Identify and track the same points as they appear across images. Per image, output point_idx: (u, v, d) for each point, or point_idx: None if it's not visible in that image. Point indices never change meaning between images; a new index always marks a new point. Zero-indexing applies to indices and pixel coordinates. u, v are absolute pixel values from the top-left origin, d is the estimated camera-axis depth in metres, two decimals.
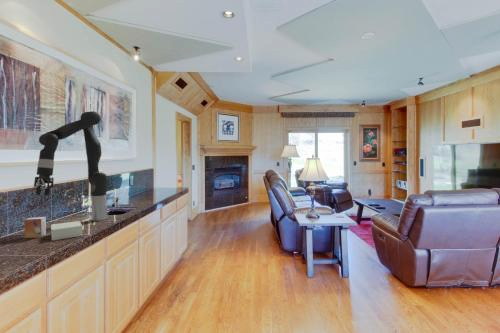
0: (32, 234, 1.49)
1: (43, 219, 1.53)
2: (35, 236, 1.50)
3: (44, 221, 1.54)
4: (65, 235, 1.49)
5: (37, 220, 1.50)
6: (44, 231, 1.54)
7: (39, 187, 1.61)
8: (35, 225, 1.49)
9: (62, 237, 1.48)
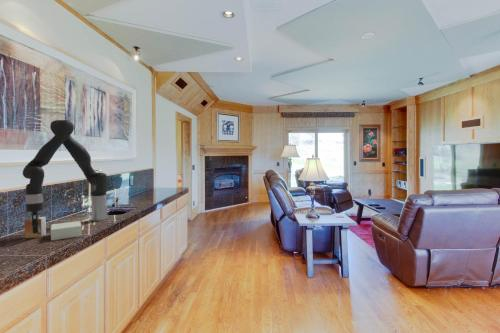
0: (32, 234, 1.49)
1: (43, 219, 1.53)
2: (35, 236, 1.50)
3: (44, 221, 1.54)
4: (64, 235, 1.49)
5: None
6: (44, 231, 1.54)
7: None
8: None
9: (61, 237, 1.48)
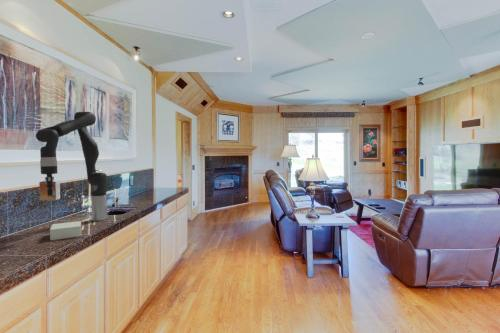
0: (46, 197, 1.50)
1: (57, 182, 1.54)
2: (50, 199, 1.51)
3: (58, 185, 1.55)
4: (64, 235, 1.49)
5: None
6: (58, 195, 1.54)
7: None
8: None
9: (60, 237, 1.48)
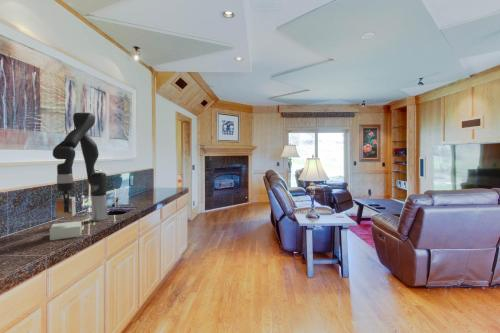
0: (63, 213, 1.52)
1: (73, 199, 1.55)
2: (66, 215, 1.52)
3: (74, 201, 1.56)
4: (63, 235, 1.48)
5: None
6: (74, 211, 1.56)
7: None
8: None
9: (60, 237, 1.48)
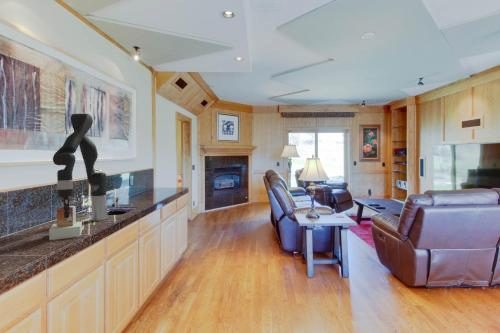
0: (63, 222, 1.52)
1: (74, 208, 1.56)
2: (67, 224, 1.53)
3: (74, 210, 1.57)
4: (63, 235, 1.48)
5: (69, 208, 1.53)
6: (74, 220, 1.57)
7: None
8: None
9: (60, 237, 1.48)
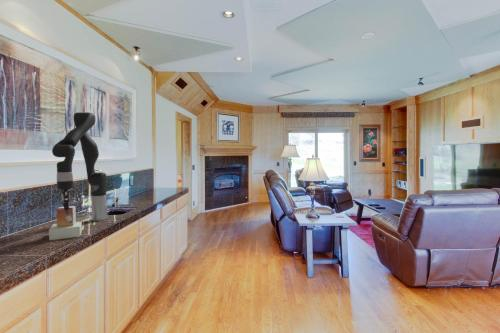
0: (63, 223, 1.52)
1: (74, 208, 1.55)
2: (67, 224, 1.52)
3: (74, 210, 1.57)
4: (63, 235, 1.48)
5: (69, 209, 1.52)
6: (74, 220, 1.56)
7: None
8: (66, 213, 1.52)
9: (59, 237, 1.48)
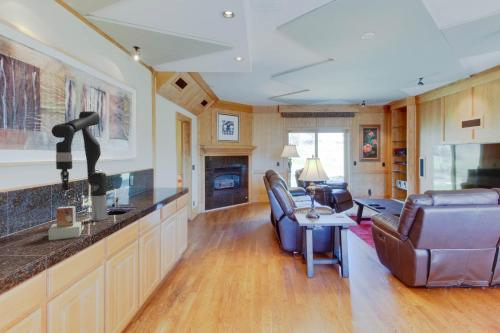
0: (63, 223, 1.52)
1: (74, 208, 1.56)
2: (67, 225, 1.52)
3: (74, 210, 1.57)
4: (62, 236, 1.48)
5: (69, 209, 1.52)
6: (74, 220, 1.56)
7: None
8: (66, 213, 1.52)
9: (59, 238, 1.48)
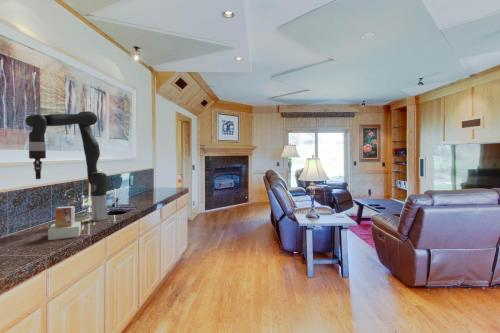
0: (62, 223, 1.52)
1: (72, 208, 1.55)
2: (65, 225, 1.52)
3: (73, 210, 1.56)
4: (62, 235, 1.48)
5: (67, 209, 1.52)
6: (73, 220, 1.56)
7: None
8: (65, 213, 1.52)
9: (58, 237, 1.48)
